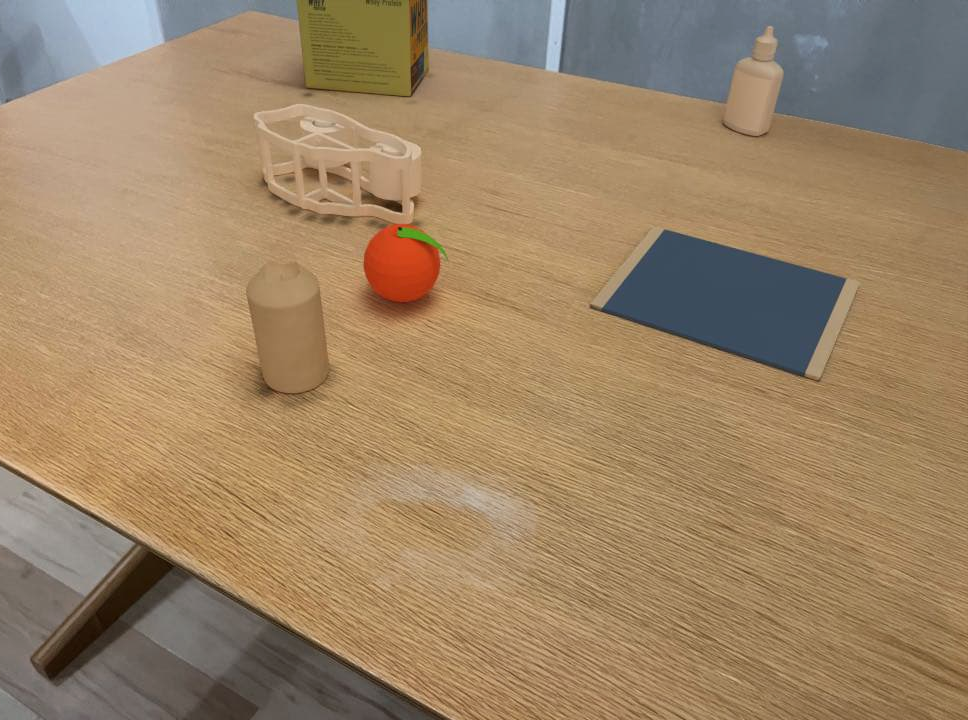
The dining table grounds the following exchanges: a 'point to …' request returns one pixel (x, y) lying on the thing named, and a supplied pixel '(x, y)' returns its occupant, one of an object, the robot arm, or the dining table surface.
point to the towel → (731, 300)
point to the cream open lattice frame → (341, 163)
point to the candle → (288, 327)
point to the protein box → (364, 45)
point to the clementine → (402, 262)
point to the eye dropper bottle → (754, 89)
